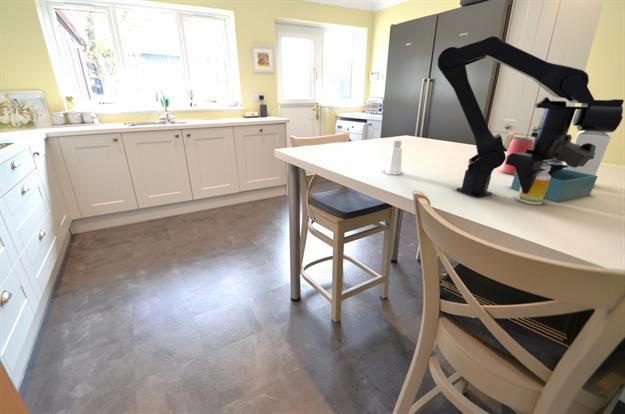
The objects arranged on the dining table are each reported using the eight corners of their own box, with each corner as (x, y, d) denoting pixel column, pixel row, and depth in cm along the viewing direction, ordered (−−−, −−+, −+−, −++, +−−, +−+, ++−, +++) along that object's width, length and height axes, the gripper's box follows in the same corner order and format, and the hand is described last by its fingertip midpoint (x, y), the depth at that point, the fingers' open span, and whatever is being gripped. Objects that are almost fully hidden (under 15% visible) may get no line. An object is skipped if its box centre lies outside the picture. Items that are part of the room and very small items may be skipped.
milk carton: (559, 183, 89) (582, 120, 82) (561, 178, 94) (583, 119, 86) (590, 188, 84) (617, 122, 77) (590, 183, 89) (615, 120, 82)
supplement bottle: (546, 205, 70) (560, 167, 67) (522, 203, 71) (534, 166, 68) (535, 198, 75) (547, 162, 72) (513, 196, 76) (523, 161, 72)
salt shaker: (398, 170, 100) (402, 139, 95) (403, 174, 95) (408, 141, 90) (383, 170, 99) (386, 138, 95) (387, 174, 94) (391, 141, 90)
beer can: (524, 177, 95) (536, 140, 90) (501, 173, 98) (511, 138, 94) (523, 172, 100) (534, 138, 96) (501, 170, 103) (511, 136, 99)
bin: (557, 202, 73) (564, 181, 71) (510, 188, 83) (516, 169, 81) (589, 195, 79) (597, 176, 77) (542, 182, 89) (548, 165, 87)
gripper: (569, 135, 56) (543, 208, 62) (618, 132, 63) (590, 197, 69) (513, 128, 66) (495, 192, 71) (561, 126, 72) (541, 184, 78)
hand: (532, 191), depth 72 cm, fingers closed on supplement bottle, 5 cm apart
